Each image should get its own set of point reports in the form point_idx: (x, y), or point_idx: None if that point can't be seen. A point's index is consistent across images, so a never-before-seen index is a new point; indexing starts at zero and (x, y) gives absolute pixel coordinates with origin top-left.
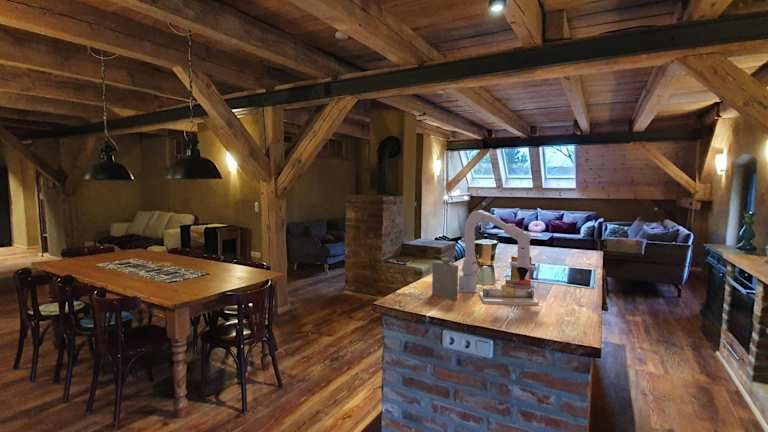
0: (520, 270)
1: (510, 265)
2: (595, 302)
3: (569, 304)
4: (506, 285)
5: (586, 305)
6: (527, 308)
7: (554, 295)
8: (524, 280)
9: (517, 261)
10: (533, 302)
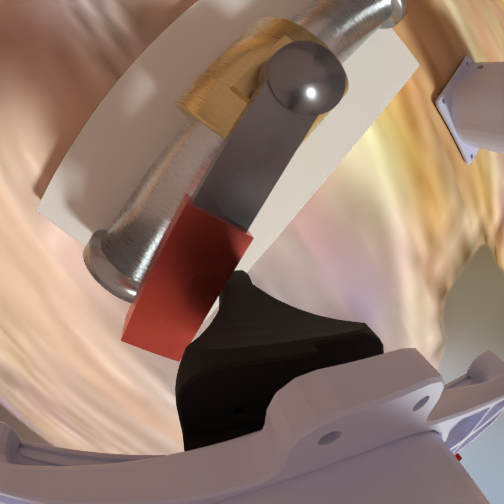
0: (253, 343)
1: (486, 352)
2: (36, 432)
3: (20, 356)
4: (275, 43)
5: (5, 389)
6: (43, 81)
7: (156, 412)
8: (153, 267)
9: (474, 490)
10: (53, 176)
